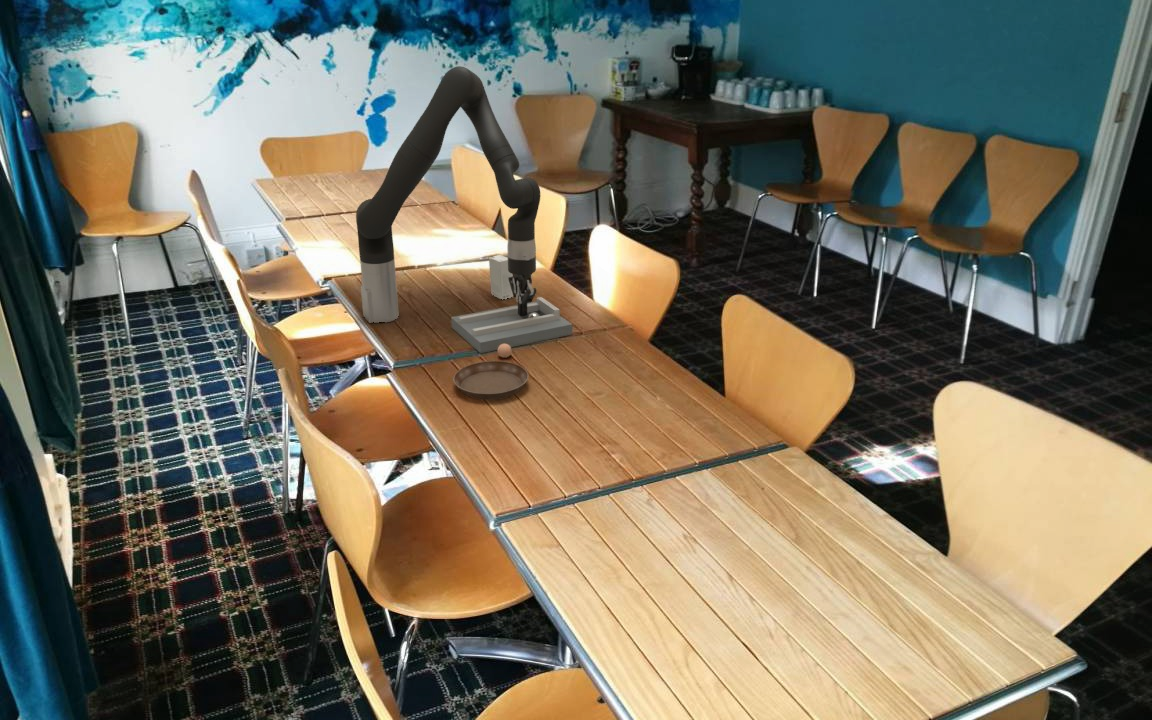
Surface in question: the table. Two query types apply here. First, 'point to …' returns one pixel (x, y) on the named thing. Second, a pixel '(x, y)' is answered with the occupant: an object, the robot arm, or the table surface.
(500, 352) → the terracotta ball
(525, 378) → the plant saucer
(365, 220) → the robot arm
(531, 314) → the steel ball
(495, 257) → the skincare box
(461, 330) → the slate board
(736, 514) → the table surface
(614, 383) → the table surface
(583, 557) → the table surface
